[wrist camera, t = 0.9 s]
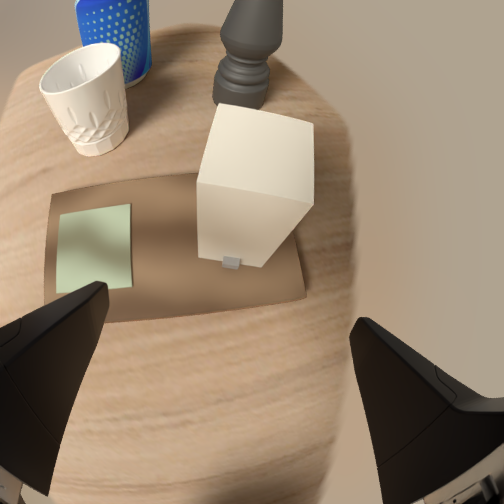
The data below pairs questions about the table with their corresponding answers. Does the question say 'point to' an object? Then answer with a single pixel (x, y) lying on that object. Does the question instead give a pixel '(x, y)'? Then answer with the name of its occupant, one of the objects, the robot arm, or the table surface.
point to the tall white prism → (252, 184)
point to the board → (154, 253)
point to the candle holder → (248, 52)
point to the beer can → (119, 32)
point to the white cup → (89, 97)
